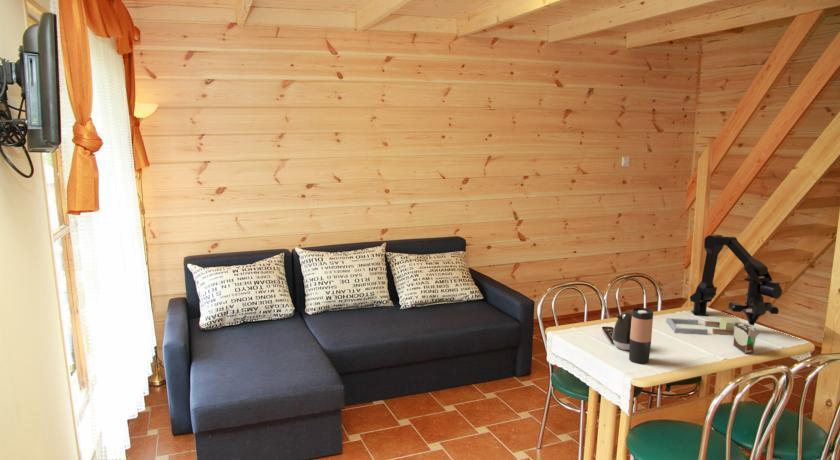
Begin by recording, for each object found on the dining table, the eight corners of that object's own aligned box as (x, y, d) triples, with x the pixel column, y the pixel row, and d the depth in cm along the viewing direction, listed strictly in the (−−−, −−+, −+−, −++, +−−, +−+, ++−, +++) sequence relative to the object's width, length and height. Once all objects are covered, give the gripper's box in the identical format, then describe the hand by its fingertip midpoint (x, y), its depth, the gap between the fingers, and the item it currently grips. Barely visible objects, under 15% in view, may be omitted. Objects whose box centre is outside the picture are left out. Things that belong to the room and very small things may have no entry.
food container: (762, 356, 233) (765, 331, 231) (746, 355, 233) (749, 331, 231) (746, 344, 245) (748, 321, 243) (731, 344, 245) (733, 321, 243)
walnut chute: (704, 325, 269) (705, 321, 269) (742, 327, 267) (742, 323, 266) (713, 334, 257) (713, 329, 257) (752, 336, 255) (753, 332, 255)
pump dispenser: (605, 345, 242) (608, 309, 240) (626, 342, 246) (629, 307, 243) (622, 353, 233) (625, 316, 230) (643, 350, 236) (646, 314, 234)
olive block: (719, 328, 266) (720, 317, 265) (735, 329, 265) (736, 318, 264) (725, 333, 259) (726, 322, 258) (742, 334, 258) (743, 323, 257)
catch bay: (666, 321, 273) (666, 317, 273) (696, 323, 271) (697, 319, 271) (674, 332, 258) (675, 328, 258) (707, 334, 256) (707, 330, 256)
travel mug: (644, 356, 230) (648, 307, 227) (652, 364, 223) (657, 313, 219) (625, 356, 230) (629, 307, 227) (632, 364, 222) (636, 313, 219)
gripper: (739, 296, 251) (735, 331, 254) (786, 299, 249) (781, 334, 251) (729, 289, 262) (726, 323, 265) (774, 291, 259) (770, 325, 262)
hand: (751, 326), depth 260 cm, fingers closed
